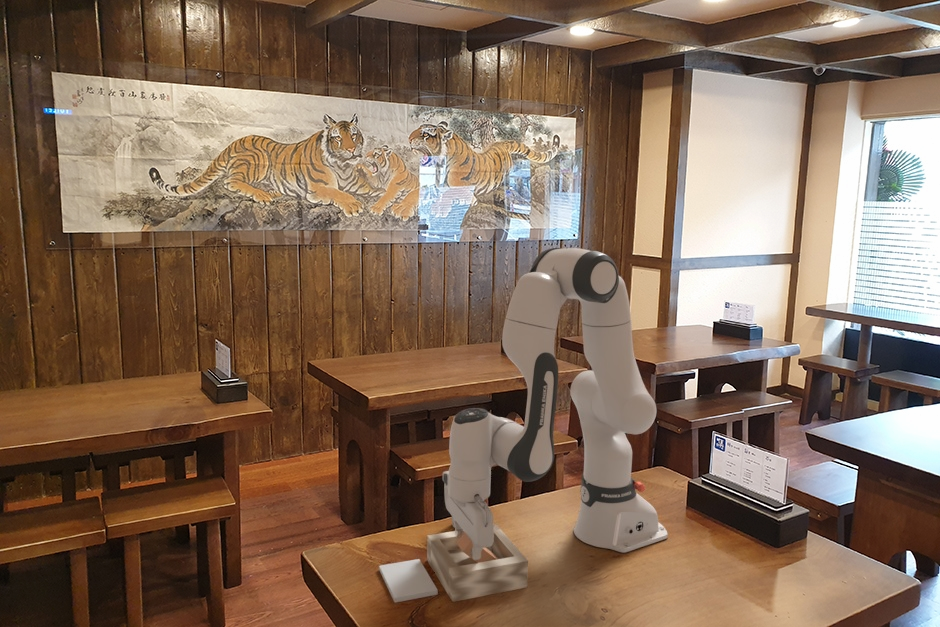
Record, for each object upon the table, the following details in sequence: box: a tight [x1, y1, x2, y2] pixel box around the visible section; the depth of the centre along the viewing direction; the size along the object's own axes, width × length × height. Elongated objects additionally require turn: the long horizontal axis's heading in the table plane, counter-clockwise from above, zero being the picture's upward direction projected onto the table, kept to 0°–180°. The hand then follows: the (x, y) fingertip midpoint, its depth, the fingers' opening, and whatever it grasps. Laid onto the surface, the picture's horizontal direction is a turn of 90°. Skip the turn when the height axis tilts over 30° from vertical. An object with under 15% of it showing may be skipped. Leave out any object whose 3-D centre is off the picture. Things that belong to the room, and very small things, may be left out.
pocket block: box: [426, 524, 529, 603], centre depth 153 cm, size 16×17×6 cm
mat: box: [378, 558, 439, 603], centre depth 149 cm, size 9×13×1 cm
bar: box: [456, 533, 499, 563], centre depth 153 cm, size 10×4×3 cm
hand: (467, 547), depth 151 cm, fingers open, 8 cm apart
